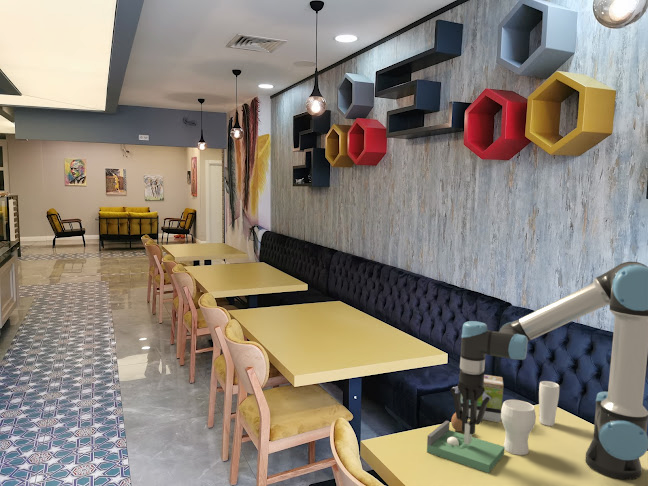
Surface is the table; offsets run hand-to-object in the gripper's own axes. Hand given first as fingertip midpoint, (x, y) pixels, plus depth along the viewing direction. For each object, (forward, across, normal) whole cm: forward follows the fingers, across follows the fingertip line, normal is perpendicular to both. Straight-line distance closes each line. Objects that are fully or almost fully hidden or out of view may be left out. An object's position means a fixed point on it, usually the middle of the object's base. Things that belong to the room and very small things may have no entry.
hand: (467, 442), depth 164 cm
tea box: (+4, +8, -34) cm, 35 cm away
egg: (+4, +8, -14) cm, 17 cm away
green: (+4, 0, 0) cm, 4 cm away
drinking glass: (+4, -14, -42) cm, 45 cm away
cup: (+4, -12, -14) cm, 18 cm away
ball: (+2, +5, 0) cm, 5 cm away
